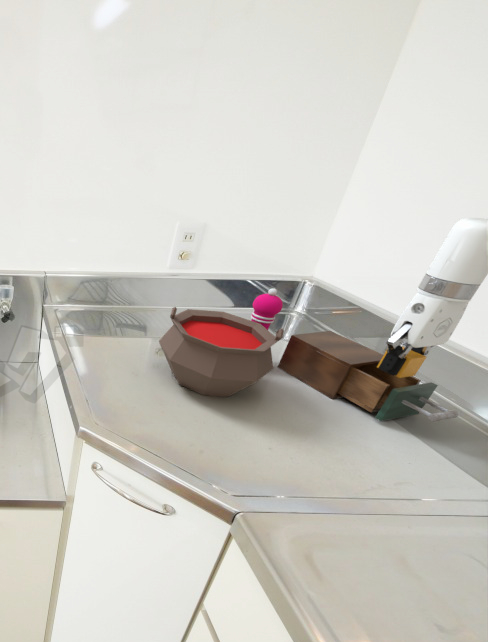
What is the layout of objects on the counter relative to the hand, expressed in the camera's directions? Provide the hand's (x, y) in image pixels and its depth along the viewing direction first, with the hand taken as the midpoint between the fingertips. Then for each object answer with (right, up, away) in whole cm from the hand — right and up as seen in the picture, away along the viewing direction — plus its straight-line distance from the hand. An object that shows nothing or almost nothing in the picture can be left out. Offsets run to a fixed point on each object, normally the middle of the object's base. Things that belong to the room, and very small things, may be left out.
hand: (396, 369), depth 88 cm
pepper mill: (-19, +1, +20) cm, 28 cm away
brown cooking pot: (-34, -3, +12) cm, 36 cm away
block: (0, 0, 0) cm, 0 cm away
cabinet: (-4, -3, +15) cm, 15 cm away
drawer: (0, -8, +3) cm, 9 cm away
